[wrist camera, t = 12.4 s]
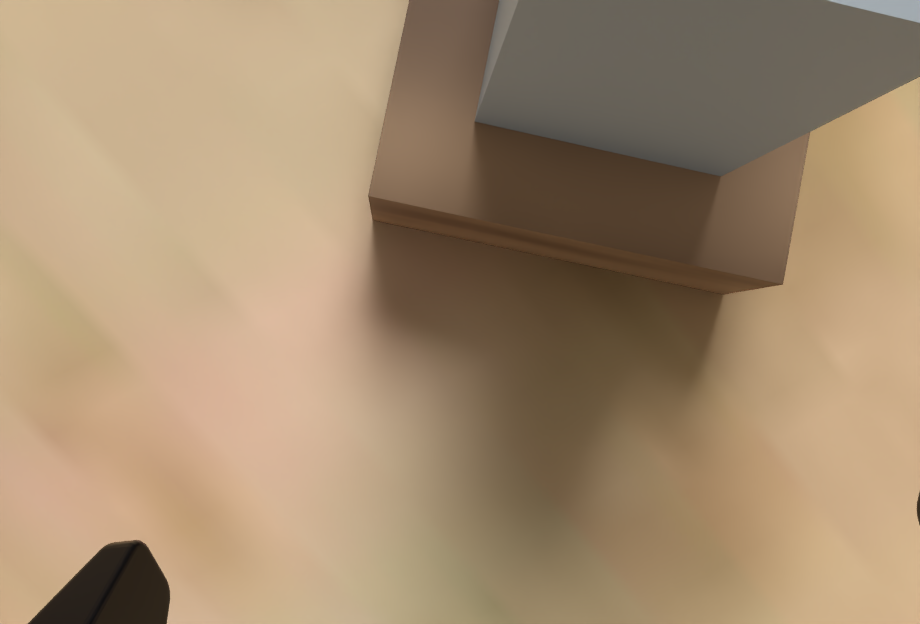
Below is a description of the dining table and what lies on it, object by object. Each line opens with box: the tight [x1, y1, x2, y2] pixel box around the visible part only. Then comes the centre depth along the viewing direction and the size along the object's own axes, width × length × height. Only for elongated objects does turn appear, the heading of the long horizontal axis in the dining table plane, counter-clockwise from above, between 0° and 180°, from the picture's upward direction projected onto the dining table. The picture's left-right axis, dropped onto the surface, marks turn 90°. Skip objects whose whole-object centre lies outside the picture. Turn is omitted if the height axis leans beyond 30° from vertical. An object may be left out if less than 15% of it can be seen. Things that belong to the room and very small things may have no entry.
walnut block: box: [368, 0, 810, 294], centre depth 22 cm, size 10×10×4 cm
